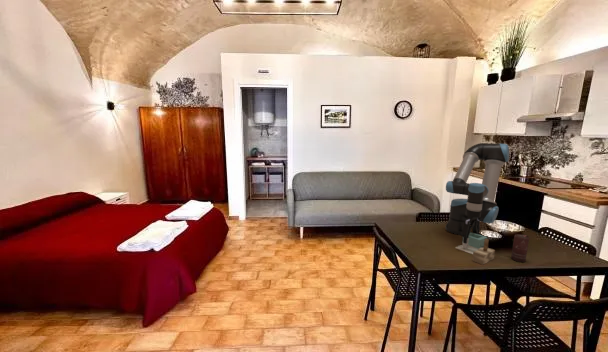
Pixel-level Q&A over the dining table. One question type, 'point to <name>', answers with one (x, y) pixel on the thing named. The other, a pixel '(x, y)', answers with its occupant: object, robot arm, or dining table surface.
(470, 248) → the felt mat
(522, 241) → the can
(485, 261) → the hook stand
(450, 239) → the dining table surface
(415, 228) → the dining table surface
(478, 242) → the c link
